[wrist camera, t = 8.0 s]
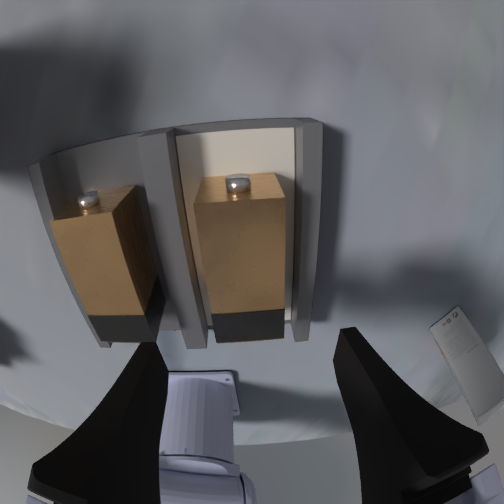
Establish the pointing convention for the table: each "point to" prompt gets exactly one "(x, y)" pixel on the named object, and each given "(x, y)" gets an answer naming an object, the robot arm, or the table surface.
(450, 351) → the skincare box
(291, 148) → the battery board
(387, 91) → the table surface
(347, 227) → the table surface
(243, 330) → the copper cell
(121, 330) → the cell
